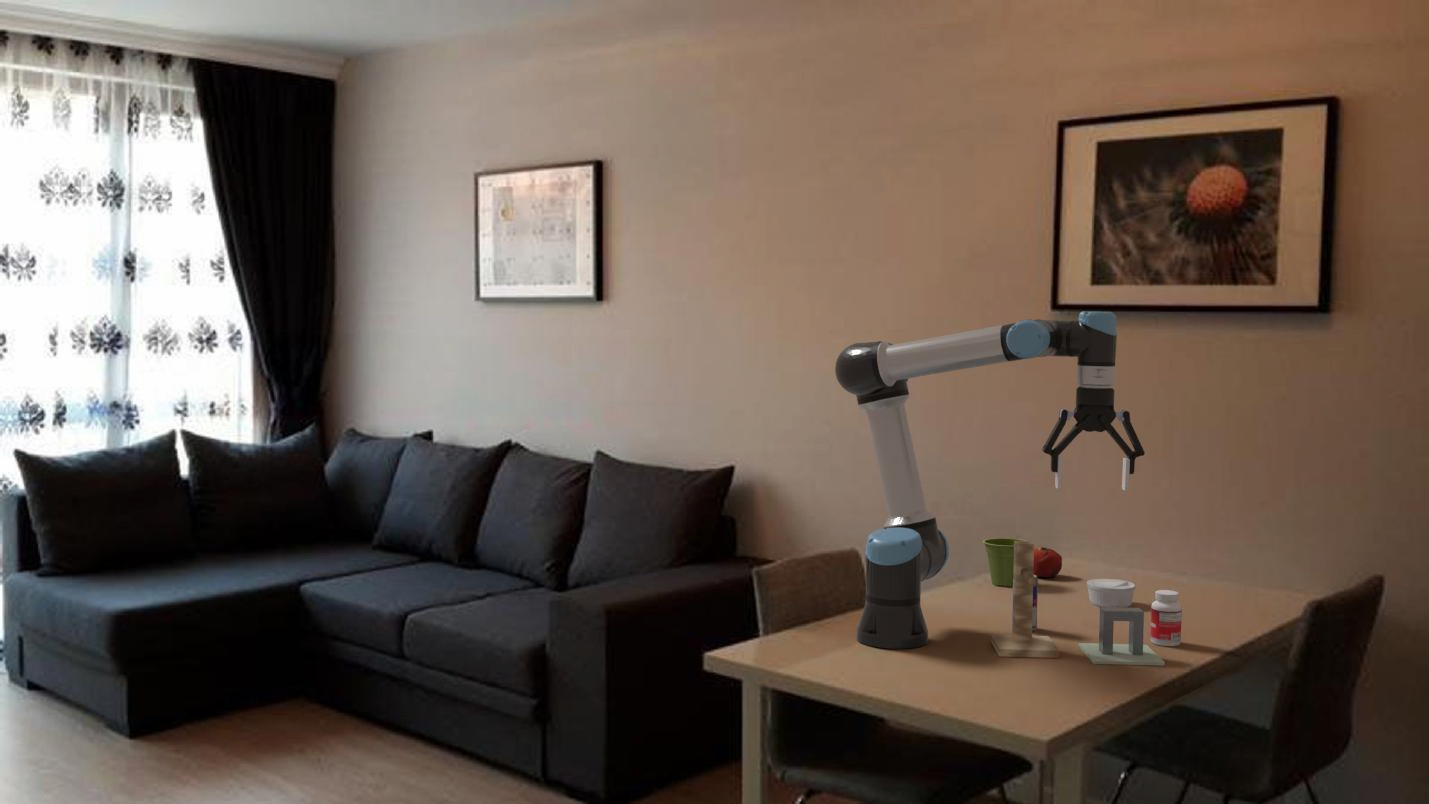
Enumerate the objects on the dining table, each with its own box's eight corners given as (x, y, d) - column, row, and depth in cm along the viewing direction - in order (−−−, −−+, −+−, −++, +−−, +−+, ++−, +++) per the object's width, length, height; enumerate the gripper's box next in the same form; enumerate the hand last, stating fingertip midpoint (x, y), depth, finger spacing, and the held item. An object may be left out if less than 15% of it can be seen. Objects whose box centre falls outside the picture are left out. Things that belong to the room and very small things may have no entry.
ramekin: (1138, 610, 302) (1138, 588, 302) (1089, 609, 304) (1090, 587, 304) (1130, 600, 313) (1131, 579, 313) (1083, 598, 315) (1084, 577, 315)
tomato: (1040, 572, 348) (1041, 543, 347) (1069, 577, 341) (1070, 547, 340) (1019, 576, 342) (1020, 546, 341) (1048, 581, 335) (1049, 551, 334)
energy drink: (1037, 632, 280) (1038, 578, 280) (1012, 631, 282) (1013, 577, 281) (1036, 626, 286) (1037, 573, 285) (1011, 625, 287) (1012, 572, 286)
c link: (1102, 654, 260) (1103, 610, 259) (1098, 650, 263) (1099, 607, 263) (1142, 655, 259) (1143, 611, 259) (1138, 650, 263) (1139, 607, 262)
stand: (1001, 660, 258) (1003, 552, 256) (991, 641, 272) (992, 539, 271) (1061, 661, 257) (1064, 553, 255) (1048, 642, 271) (1050, 540, 270)
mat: (1093, 663, 255) (1093, 660, 255) (1078, 645, 269) (1078, 643, 269) (1164, 665, 254) (1165, 662, 254) (1146, 647, 268) (1146, 644, 268)
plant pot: (1001, 578, 340) (1001, 536, 339) (1038, 585, 330) (1039, 542, 330) (972, 583, 332) (973, 540, 331) (1009, 591, 323) (1010, 547, 322)
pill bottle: (1151, 638, 276) (1153, 588, 275) (1181, 641, 273) (1183, 590, 272) (1149, 645, 270) (1150, 593, 269) (1179, 648, 268) (1181, 596, 267)
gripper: (1037, 386, 259) (1033, 489, 261) (1162, 388, 257) (1158, 493, 259) (1030, 384, 267) (1027, 484, 268) (1152, 386, 265) (1148, 488, 266)
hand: (1091, 489), depth 264 cm, fingers open, 13 cm apart
